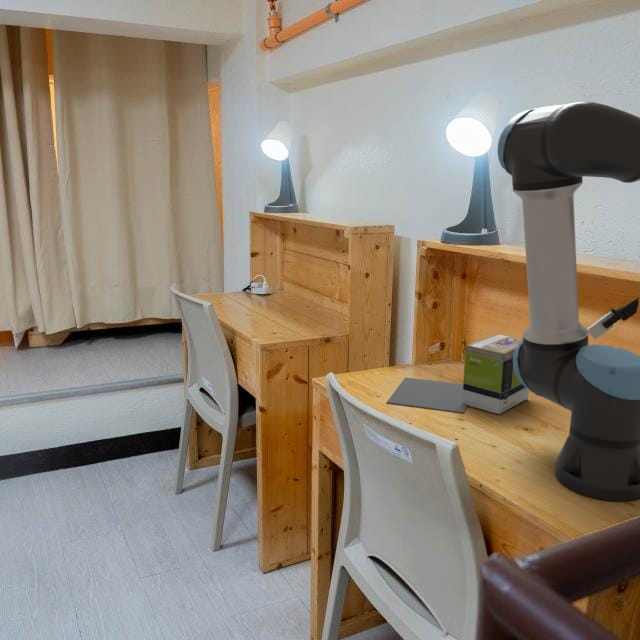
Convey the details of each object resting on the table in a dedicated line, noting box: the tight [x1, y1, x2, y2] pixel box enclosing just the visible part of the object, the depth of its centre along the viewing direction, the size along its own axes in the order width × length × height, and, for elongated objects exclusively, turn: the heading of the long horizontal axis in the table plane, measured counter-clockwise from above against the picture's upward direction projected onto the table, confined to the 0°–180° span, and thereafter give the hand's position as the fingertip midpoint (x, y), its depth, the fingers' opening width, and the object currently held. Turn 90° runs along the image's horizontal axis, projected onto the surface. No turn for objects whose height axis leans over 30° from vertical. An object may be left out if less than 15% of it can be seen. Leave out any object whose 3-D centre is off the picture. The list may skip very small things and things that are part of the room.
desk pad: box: [386, 377, 468, 414], centre depth 155 cm, size 20×18×1 cm
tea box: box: [462, 333, 530, 415], centre depth 148 cm, size 15×10×15 cm
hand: (590, 334), depth 140 cm, fingers closed
